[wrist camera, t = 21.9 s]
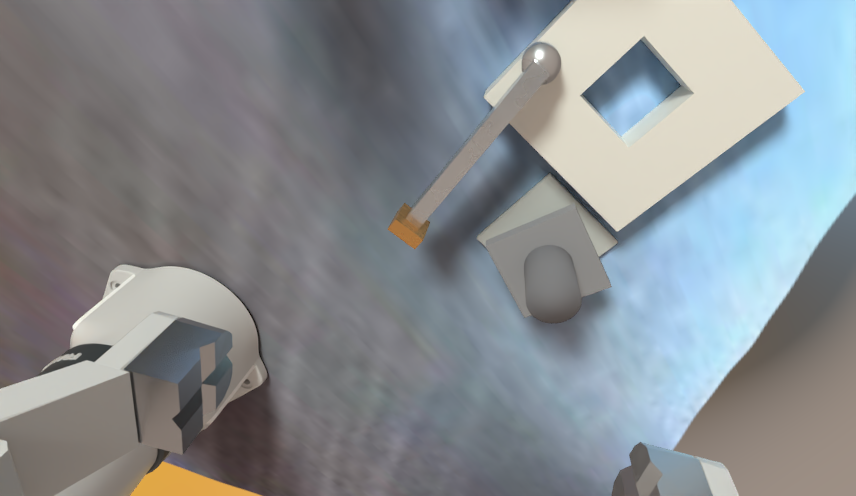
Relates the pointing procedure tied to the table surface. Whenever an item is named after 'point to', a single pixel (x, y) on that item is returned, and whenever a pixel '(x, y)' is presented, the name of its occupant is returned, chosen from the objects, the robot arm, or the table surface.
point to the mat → (543, 202)
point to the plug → (549, 265)
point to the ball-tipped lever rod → (478, 141)
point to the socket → (668, 122)
